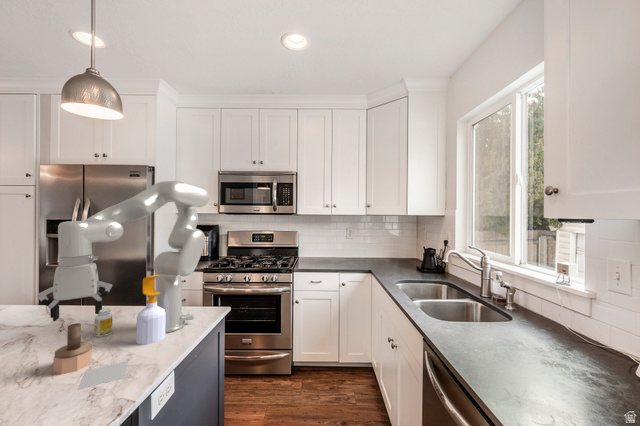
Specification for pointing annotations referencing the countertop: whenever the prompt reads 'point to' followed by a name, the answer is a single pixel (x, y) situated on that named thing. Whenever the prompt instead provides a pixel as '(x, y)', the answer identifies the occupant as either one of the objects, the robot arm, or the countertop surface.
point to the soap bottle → (150, 316)
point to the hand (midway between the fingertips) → (77, 315)
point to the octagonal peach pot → (72, 363)
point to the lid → (73, 343)
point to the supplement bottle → (103, 323)
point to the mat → (103, 374)
